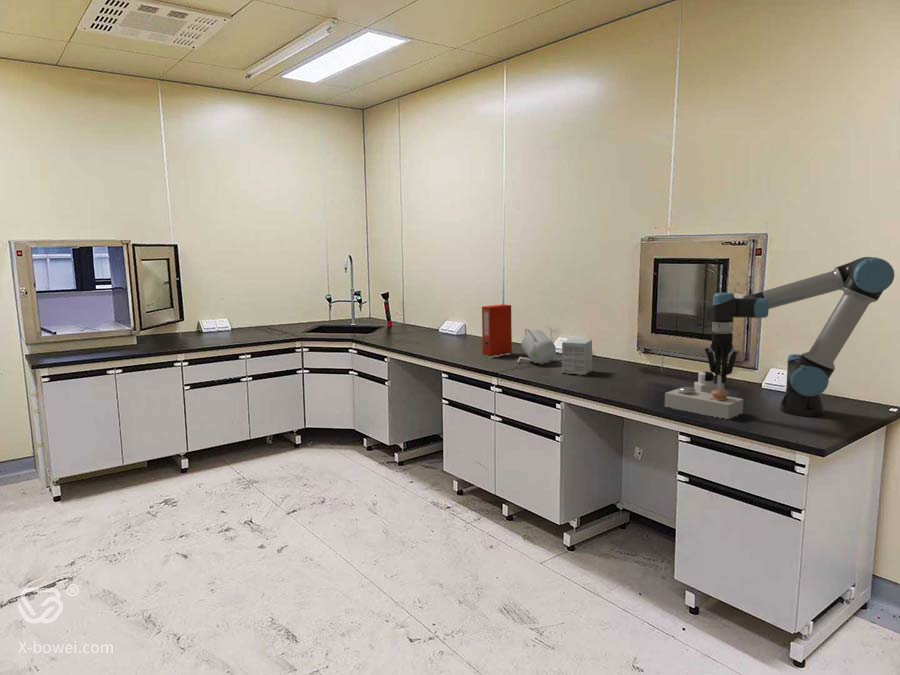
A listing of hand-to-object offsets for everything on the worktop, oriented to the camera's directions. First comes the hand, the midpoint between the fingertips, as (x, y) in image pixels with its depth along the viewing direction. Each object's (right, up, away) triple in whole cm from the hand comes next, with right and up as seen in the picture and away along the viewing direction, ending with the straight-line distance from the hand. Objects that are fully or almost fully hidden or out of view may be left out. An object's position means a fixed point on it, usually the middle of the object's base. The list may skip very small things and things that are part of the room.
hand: (720, 390), depth 237 cm
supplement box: (-39, +2, +85) cm, 93 cm away
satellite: (-55, +6, +114) cm, 126 cm away
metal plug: (-9, -8, +12) cm, 17 cm away
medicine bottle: (+4, -6, +24) cm, 25 cm away
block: (-4, -9, +7) cm, 12 cm away
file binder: (-78, +9, +140) cm, 161 cm away
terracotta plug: (0, -8, +1) cm, 8 cm away
